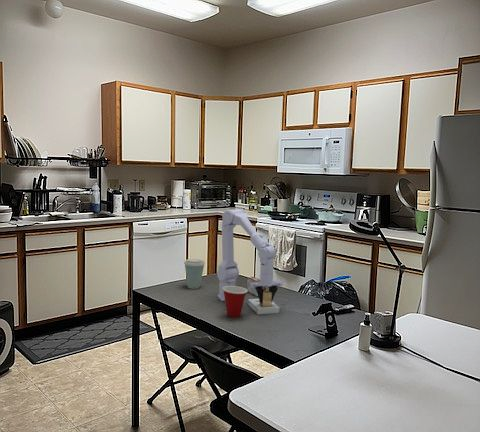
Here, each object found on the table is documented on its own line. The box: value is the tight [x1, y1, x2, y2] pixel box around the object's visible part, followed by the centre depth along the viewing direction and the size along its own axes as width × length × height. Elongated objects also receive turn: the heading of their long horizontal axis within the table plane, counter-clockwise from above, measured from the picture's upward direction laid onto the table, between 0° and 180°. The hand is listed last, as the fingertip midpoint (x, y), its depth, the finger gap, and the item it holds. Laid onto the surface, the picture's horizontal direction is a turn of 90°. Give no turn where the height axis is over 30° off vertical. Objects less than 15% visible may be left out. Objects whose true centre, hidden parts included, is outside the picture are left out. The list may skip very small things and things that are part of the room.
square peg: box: [260, 289, 272, 307], centre depth 196 cm, size 4×4×7 cm
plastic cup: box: [223, 285, 249, 319], centre depth 188 cm, size 11×11×12 cm
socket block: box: [247, 298, 280, 315], centre depth 199 cm, size 14×10×2 cm
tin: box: [246, 276, 267, 298], centre depth 220 cm, size 15×3×8 cm, turn 30°
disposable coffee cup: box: [184, 258, 205, 290], centre depth 230 cm, size 11×11×15 cm
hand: (265, 302), depth 196 cm, fingers closed on square peg, 4 cm apart
